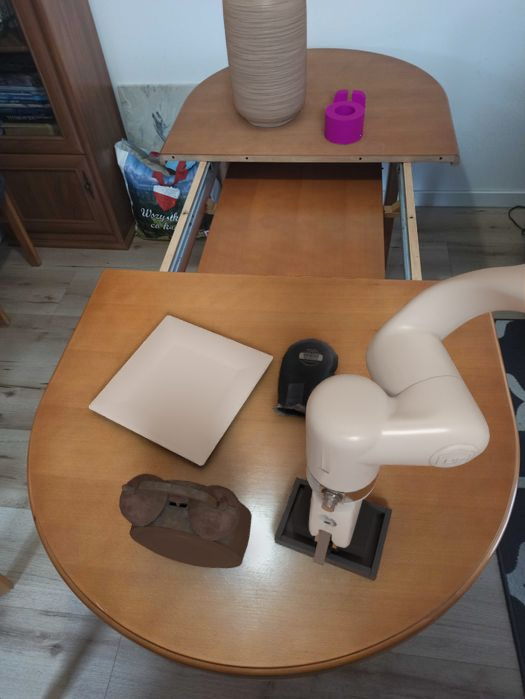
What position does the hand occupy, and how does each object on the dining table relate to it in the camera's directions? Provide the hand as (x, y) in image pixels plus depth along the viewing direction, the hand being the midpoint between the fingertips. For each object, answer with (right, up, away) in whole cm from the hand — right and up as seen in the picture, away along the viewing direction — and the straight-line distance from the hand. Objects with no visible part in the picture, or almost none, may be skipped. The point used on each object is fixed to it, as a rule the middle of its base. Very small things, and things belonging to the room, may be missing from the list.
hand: (333, 522), depth 66 cm
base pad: (0, -1, +2) cm, 2 cm away
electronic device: (-2, +18, +17) cm, 25 cm away
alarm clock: (-18, -4, +2) cm, 18 cm away
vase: (-7, +89, +73) cm, 115 cm away
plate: (-23, +16, +18) cm, 33 cm away
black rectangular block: (0, 0, +1) cm, 1 cm away
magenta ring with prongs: (+12, +82, +66) cm, 106 cm away
